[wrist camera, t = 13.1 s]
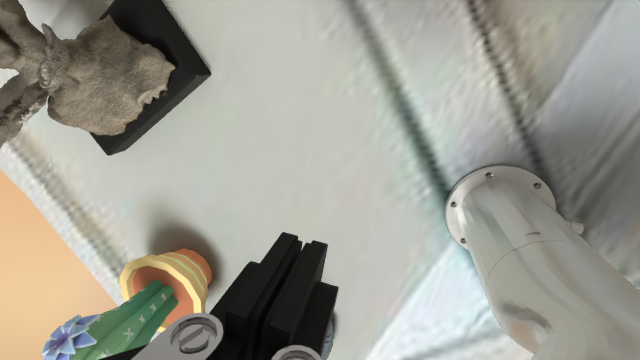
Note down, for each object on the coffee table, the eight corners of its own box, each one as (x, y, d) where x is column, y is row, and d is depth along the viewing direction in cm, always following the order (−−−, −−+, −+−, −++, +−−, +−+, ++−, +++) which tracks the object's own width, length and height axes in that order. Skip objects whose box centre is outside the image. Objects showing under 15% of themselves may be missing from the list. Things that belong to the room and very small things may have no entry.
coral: (113, 160, 53) (-54, 215, 33) (33, 52, 50) (-207, 43, 30) (215, 79, 44) (64, 90, 24) (124, -61, 40) (-137, -180, 21)
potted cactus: (237, 256, 54) (116, 397, 31) (217, 316, 60) (105, 470, 37) (160, 218, 55) (-11, 326, 32) (149, 280, 61) (-1, 408, 38)
